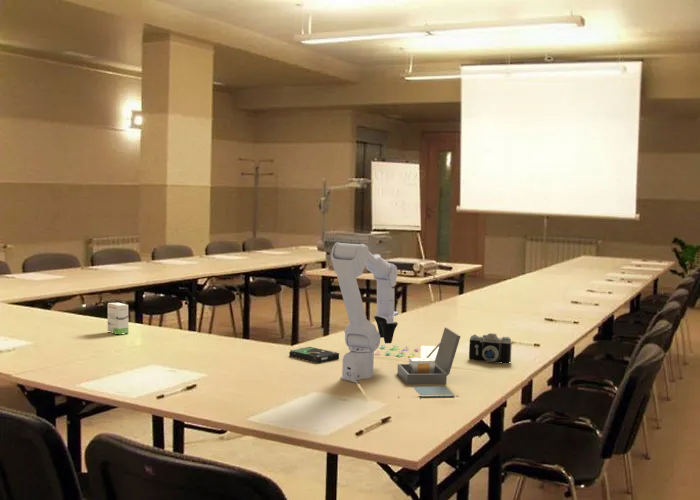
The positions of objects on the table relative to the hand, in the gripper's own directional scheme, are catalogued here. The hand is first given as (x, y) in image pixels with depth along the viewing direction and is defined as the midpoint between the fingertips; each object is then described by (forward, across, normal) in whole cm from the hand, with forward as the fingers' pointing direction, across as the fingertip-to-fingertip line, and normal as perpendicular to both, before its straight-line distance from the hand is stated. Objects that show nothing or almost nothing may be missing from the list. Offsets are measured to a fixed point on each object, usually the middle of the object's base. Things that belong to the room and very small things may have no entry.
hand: (385, 340), depth 250 cm
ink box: (+9, +66, +94) cm, 115 cm away
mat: (+8, -32, -7) cm, 34 cm away
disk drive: (+10, +18, +22) cm, 30 cm away
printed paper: (+12, +27, -10) cm, 31 cm away
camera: (+12, +9, -39) cm, 42 cm away
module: (+8, -18, -7) cm, 21 cm away
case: (+9, -18, -9) cm, 22 cm away
